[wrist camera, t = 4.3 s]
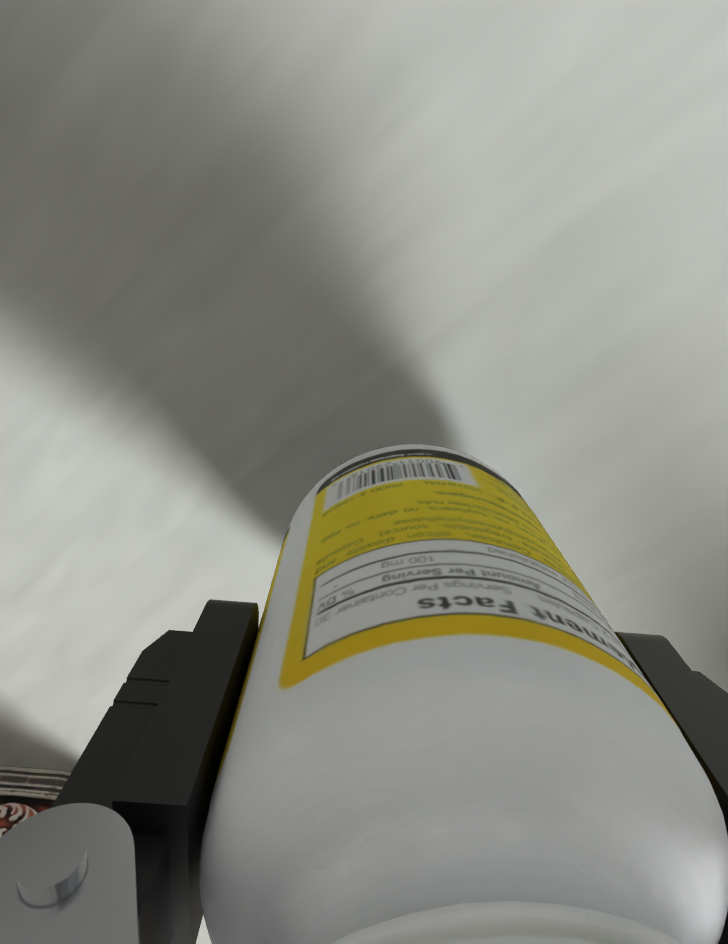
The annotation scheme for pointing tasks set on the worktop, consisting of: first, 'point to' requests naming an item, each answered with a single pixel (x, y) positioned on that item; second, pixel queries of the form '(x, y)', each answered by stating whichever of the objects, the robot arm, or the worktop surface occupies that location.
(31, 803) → the lighter
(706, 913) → the supplement bottle
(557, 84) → the worktop surface
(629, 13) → the worktop surface
